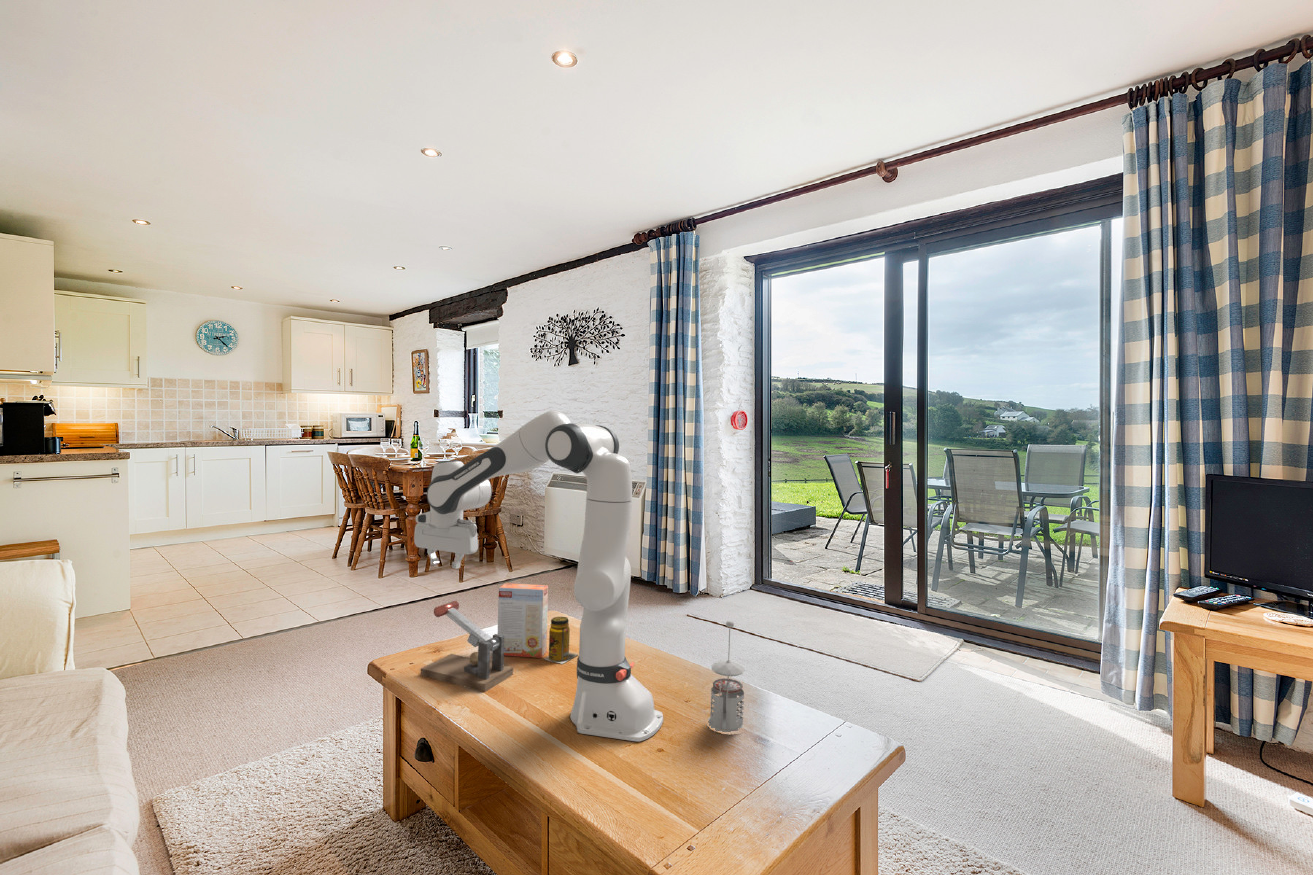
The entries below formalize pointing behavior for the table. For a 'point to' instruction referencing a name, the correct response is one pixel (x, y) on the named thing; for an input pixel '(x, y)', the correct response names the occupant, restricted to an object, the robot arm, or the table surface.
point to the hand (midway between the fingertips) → (445, 566)
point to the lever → (466, 625)
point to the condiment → (559, 641)
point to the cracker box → (523, 619)
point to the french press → (727, 695)
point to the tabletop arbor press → (472, 668)
